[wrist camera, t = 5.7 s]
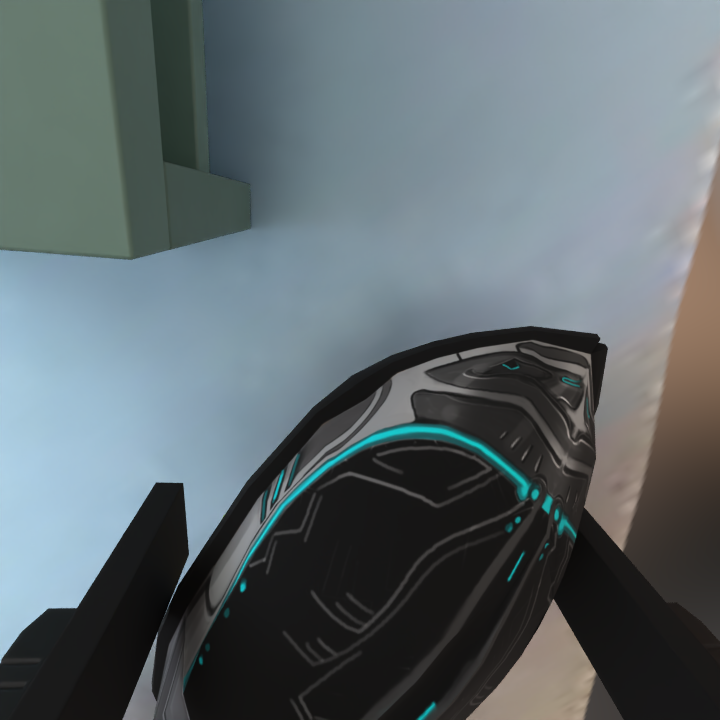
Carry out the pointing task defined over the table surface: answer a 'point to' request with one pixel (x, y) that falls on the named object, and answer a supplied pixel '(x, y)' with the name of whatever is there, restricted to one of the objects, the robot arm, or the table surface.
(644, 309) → the table surface
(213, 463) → the table surface
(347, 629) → the computer mouse
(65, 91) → the desk shelf
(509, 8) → the table surface
